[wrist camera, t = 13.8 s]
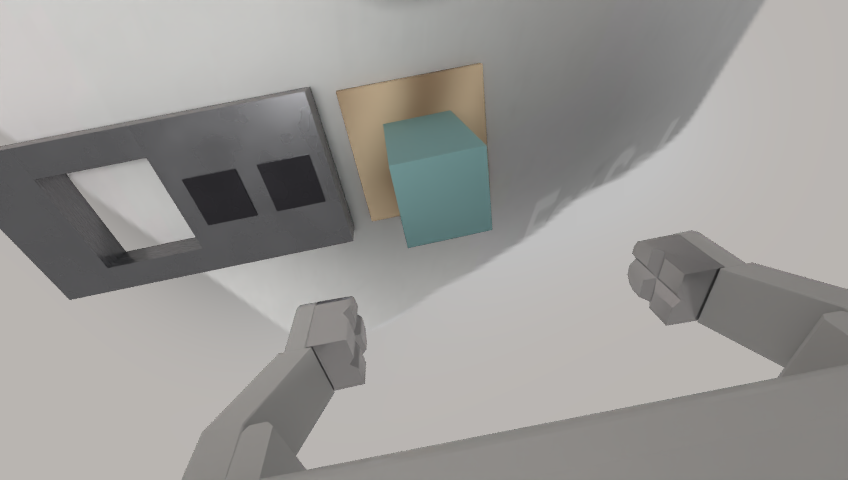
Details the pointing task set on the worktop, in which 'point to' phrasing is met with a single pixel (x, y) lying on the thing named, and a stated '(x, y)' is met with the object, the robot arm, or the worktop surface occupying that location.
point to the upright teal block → (438, 178)
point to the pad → (401, 102)
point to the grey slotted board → (180, 192)
